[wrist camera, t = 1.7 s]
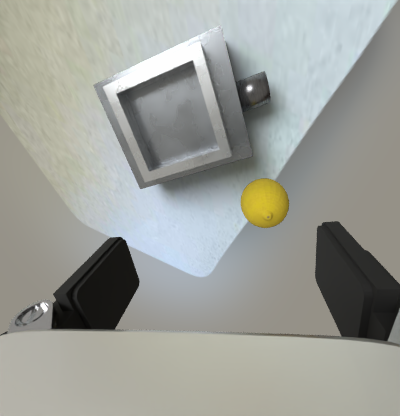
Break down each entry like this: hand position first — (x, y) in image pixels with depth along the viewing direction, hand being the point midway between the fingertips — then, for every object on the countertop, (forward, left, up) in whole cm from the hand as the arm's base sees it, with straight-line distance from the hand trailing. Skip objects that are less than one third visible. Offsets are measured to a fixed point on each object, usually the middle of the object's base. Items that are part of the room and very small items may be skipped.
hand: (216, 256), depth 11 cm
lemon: (-3, +5, -21) cm, 21 cm away
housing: (+3, -7, -20) cm, 22 cm away
